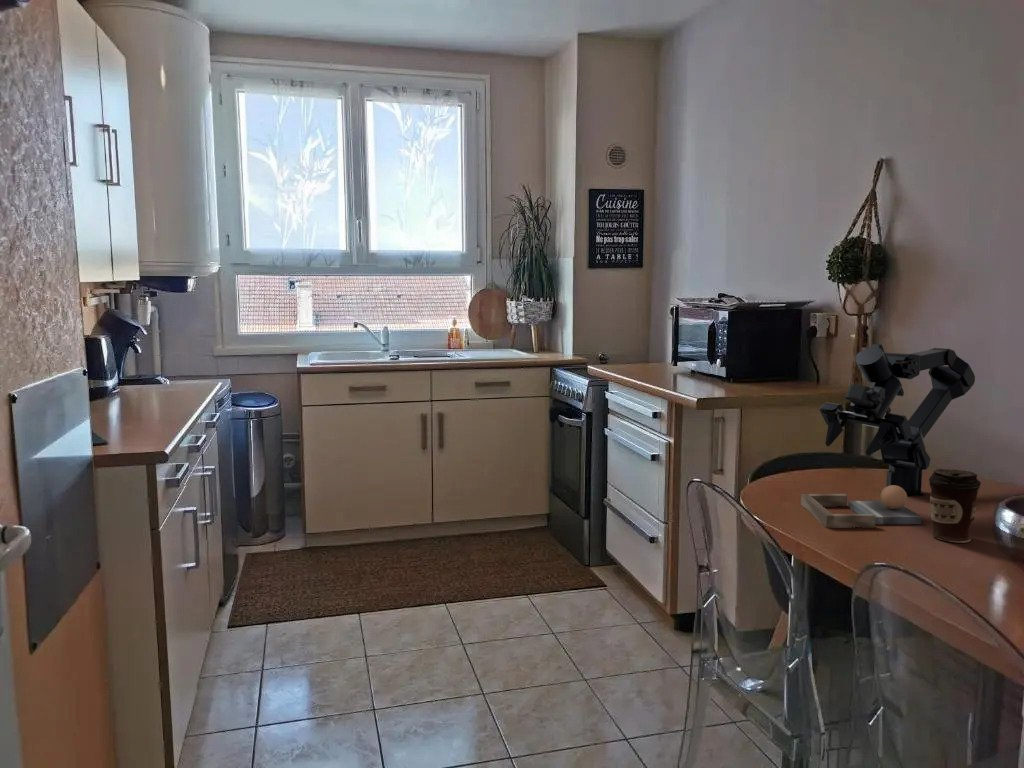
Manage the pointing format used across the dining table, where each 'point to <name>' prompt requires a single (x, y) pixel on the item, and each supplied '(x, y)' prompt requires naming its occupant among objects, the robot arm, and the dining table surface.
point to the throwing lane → (865, 510)
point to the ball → (893, 497)
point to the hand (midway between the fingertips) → (846, 449)
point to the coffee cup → (953, 503)
